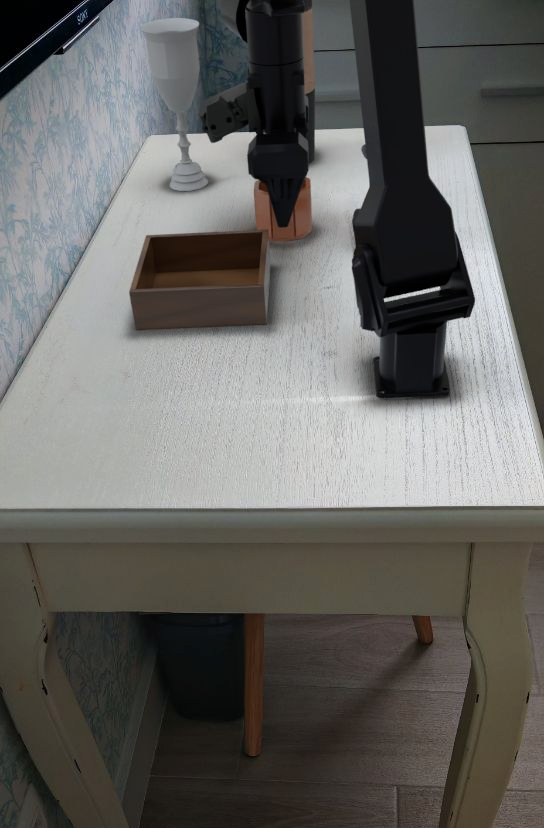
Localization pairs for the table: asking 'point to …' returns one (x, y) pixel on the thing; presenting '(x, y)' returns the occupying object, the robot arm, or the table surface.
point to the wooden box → (202, 280)
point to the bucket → (299, 219)
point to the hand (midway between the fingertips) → (283, 210)
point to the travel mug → (309, 75)
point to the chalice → (176, 84)
